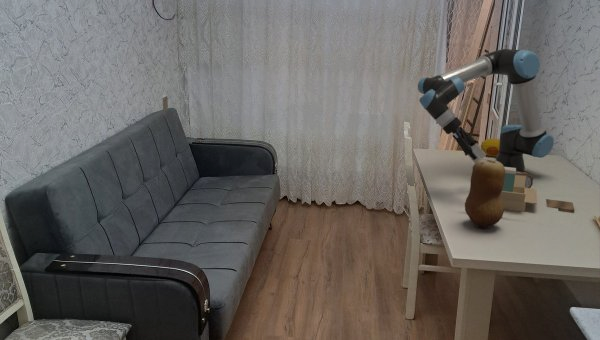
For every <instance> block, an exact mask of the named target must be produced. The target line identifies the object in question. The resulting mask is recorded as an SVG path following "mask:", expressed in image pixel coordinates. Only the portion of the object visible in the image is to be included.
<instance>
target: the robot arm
mask: <svg viewBox="0 0 600 340" xmlns="http://www.w3.org/2000/svg"><path fill="white" fill-rule="evenodd" d="M540 62H541V61H540V59H539V56H538V55H537V53H535V52H533V51H532V50H526V49H510V48H509V49H508V48H503V49H497V50H494V51H491V52H489V53H486V54H483V55H481V56H478V58H477V59H476V60H473V61H471V62H469V63H466V64H464V65H461V66H458V67H456V68H453V69H450V70H447V71H446V72H443V73H440V74H437V75H435V76H432V77H429V76H428V77H422V78H420V79H419V81H418V83H417V91H418V92H419V93H421V94H422V96H421V97H419V103H420V105H421V106H422V107H423V109H424V110H425V111H426V112H427V113H428V114H429V116H431V118H433V120H434V121H435V124H436V125H437V124H438V125H439V126H440V127H442V130H443V131H444V133H446V134H447V135H450V134H452V137H453V139H454V140H455V141H456V143H457V144H458V146H459V147H460V148H461V151H463V153H464V155H465V156H468V157H469V158H470V159H471V160H472V161H473V163H474V164H475V163H476V162H477V161H478V160H480V159H484V158H485V157H487V156H486V154H485V153H484V152H483V150H482V149H481V146H480V145H478V144H477V143H478V140H476V139H474V138H473V137H472V136H471V135H470V134H469V133H468V132H467V131H466V130H465V129H464V128H463V127H462V126H461V125H462V121H461V120H460V119H459V118H458V117H456V114H455V113H454V112H453V111H452V110H451V109H450V107H449V106H448V105H449V104H450V103H452V102H453V100H455V99H456V98H457V97H459V96H460V94H461V93H463V92H464V91H465V88H466V85H465V83H467V82H469V81H472V80H474V79H477V78H479V77H488V76H491V75H501V76H502V75H503V76H506V77H507V80H508V83H509V84H510V85H512V87H513V91H514V97H515V100H516V101H515V102H516V106H517V112H518V116H519V121H520V124H507V125H503V126H502V127H501V129H500V130H501V131H500V133H499V134H500V136H499V139H500V144H499V152H498V155H497V157H495V160H496V161H498V162H500V163H502V164H503V166H504V167H511V168H516V171H519V172H525V170H526V165H525V161H524V155H528V156H532V157H534V158H539V159H540V158H544V157H546V156H548V155H549V154H550V153H551V151H552V149H553V147H554V144H555V140H554V137H553V136H552V135H551V134H549V133H548V132H547V128H546V126H545V125H543V124H542V121H541V115H540V109H539V104H538V100H537V95H536V93H537V92H536V89H535V84H534V81H535V79H536V77H537V74H538V73H539V71H540V67H541V63H540Z"/></svg>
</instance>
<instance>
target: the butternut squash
mask: <svg viewBox="0 0 600 340" xmlns="http://www.w3.org/2000/svg"><path fill="white" fill-rule="evenodd" d="M504 180H505V168H504V166H503V164H502V163H500V162H498V161H496V159H495V160H494V159H487V158H482V159H480V160H478V161H477V162H476V163H474V164H473V166H472V171H471V177H470V188H469V191H468V192H469V193H468V195H467V197H466V198H465V202H464V211H465V213H466V214H467V216H468V218H469V220H470V221H471V222H472V223H473V224H474V226H475V227H477V228H479V229H483V228H484V229H486V228H490V227H493V226H495V225H497V224H498V223H499V222H500V220H501V219H502V217H503V216H504V209H503V203H502V200H501V196H500V195H501V191H502V189H503V186H504Z"/></svg>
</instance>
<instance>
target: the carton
mask: <svg viewBox="0 0 600 340" xmlns="http://www.w3.org/2000/svg"><path fill="white" fill-rule="evenodd" d="M525 180H526V176H518V175H515V180H514V187H513V192H507V191H501V195H500V196H501V200H502V203H503V210H509V211H510V210H511V211H515V212H516V211H517V212H521V213H522V212H525V211H526V205H527V204H533V205H538V196H537V194H538V193H537V189H536V188H532V187H531V188H525Z"/></svg>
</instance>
